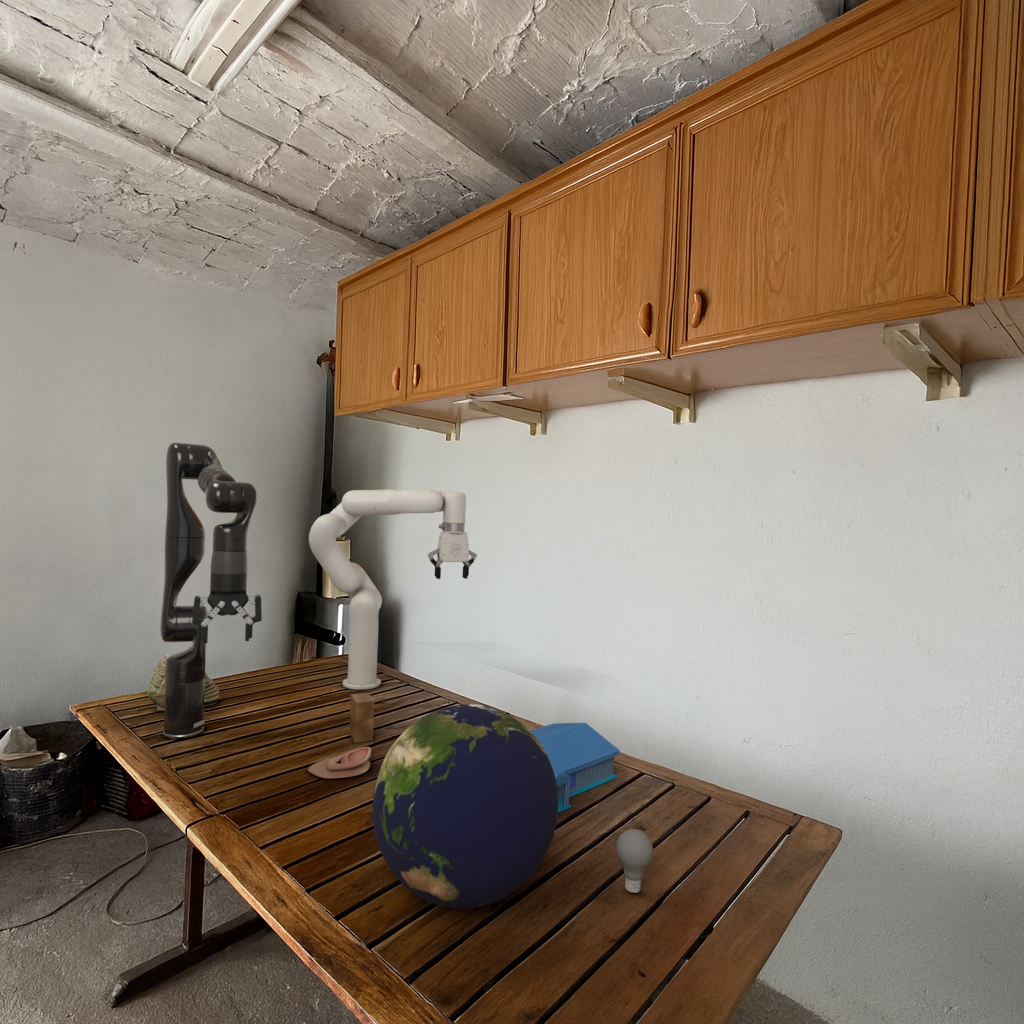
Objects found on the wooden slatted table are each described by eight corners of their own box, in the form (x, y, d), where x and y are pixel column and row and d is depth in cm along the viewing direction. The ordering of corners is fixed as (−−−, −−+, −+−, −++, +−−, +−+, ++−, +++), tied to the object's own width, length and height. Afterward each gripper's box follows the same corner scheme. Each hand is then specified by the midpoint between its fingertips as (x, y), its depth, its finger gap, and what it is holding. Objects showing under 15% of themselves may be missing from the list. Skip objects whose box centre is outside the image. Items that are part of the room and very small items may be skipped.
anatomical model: (301, 757, 143) (326, 739, 154) (300, 775, 143) (325, 755, 154) (355, 765, 140) (377, 746, 152) (355, 783, 140) (376, 762, 152)
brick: (354, 742, 164) (356, 702, 163) (349, 732, 170) (350, 694, 170) (372, 740, 166) (374, 701, 165) (366, 730, 172) (368, 692, 172)
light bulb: (610, 879, 108) (613, 822, 108) (644, 879, 109) (647, 822, 109) (619, 902, 102) (622, 840, 102) (655, 901, 103) (658, 840, 103)
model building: (501, 837, 120) (504, 785, 120) (427, 790, 139) (429, 744, 138) (628, 782, 147) (630, 739, 147) (552, 748, 165) (553, 710, 165)
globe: (328, 919, 95) (336, 721, 95) (427, 827, 123) (434, 674, 122) (512, 985, 84) (522, 760, 83) (576, 867, 112) (584, 698, 111)
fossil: (144, 707, 182) (145, 655, 182) (212, 696, 194) (213, 647, 194) (151, 716, 175) (153, 662, 175) (221, 703, 188) (223, 653, 188)
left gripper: (193, 572, 136) (191, 647, 137) (264, 572, 143) (261, 643, 143) (194, 568, 143) (191, 639, 143) (261, 567, 149) (259, 636, 150)
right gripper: (432, 528, 208) (430, 580, 209) (481, 529, 215) (479, 579, 216) (425, 527, 215) (423, 577, 215) (473, 528, 222) (471, 576, 223)
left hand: (226, 641), depth 143 cm, fingers open, 8 cm apart
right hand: (451, 578), depth 216 cm, fingers open, 9 cm apart
